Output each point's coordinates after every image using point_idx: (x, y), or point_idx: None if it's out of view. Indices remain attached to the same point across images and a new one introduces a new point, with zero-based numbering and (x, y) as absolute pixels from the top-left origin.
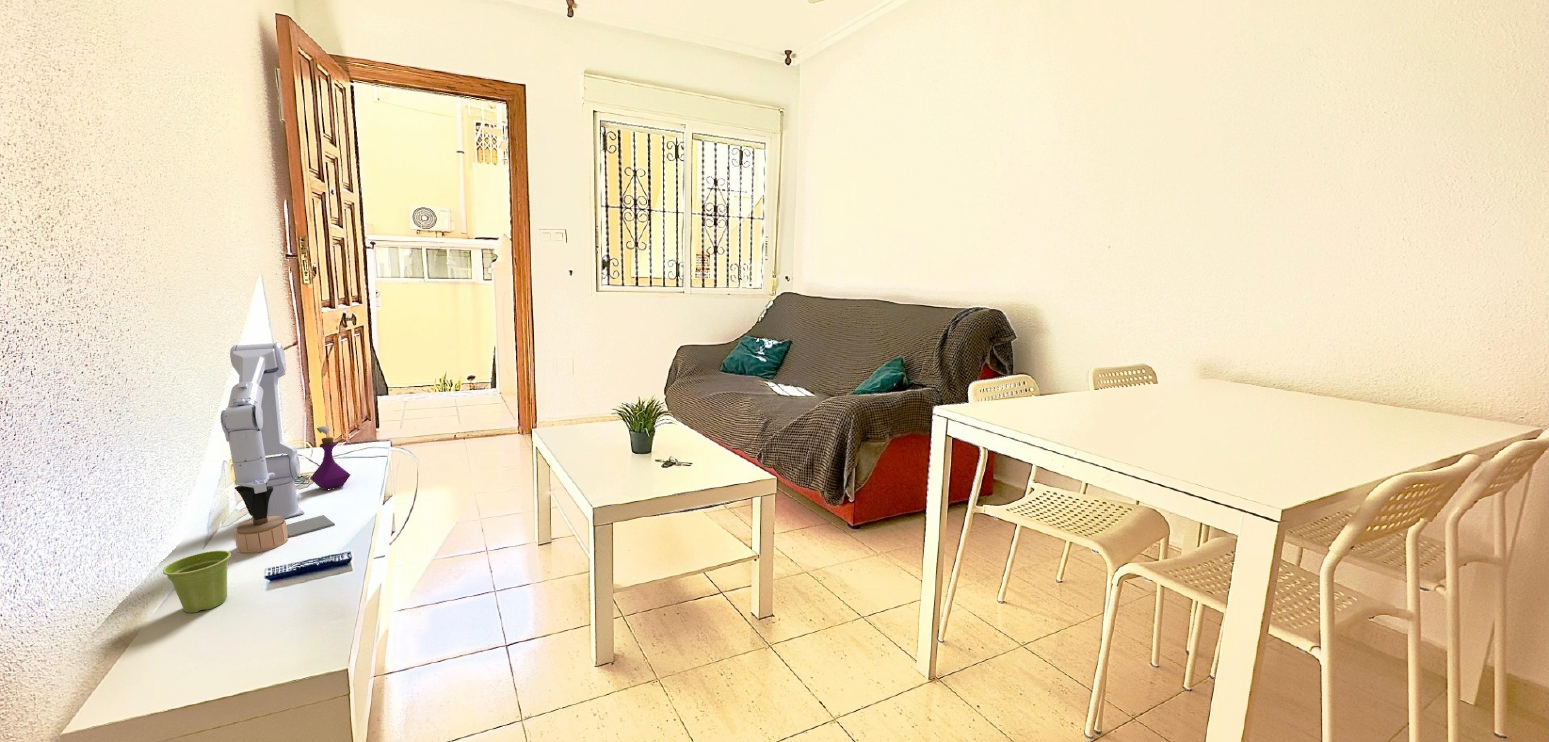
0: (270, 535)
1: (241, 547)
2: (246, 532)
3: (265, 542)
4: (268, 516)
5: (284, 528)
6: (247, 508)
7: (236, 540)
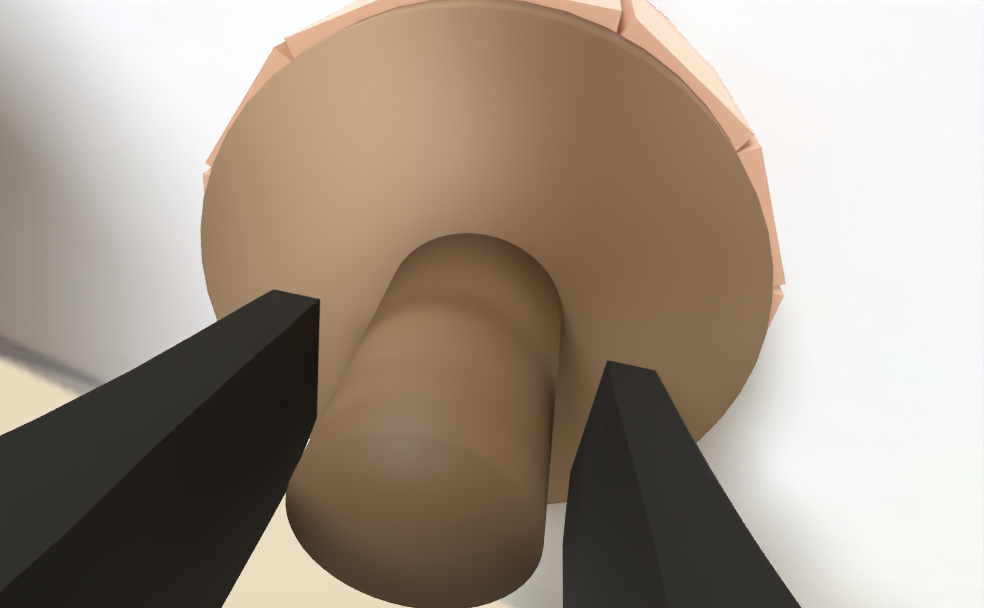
0: None
1: None
2: None
3: None
4: (238, 126)
5: (690, 62)
6: (252, 547)
7: None
